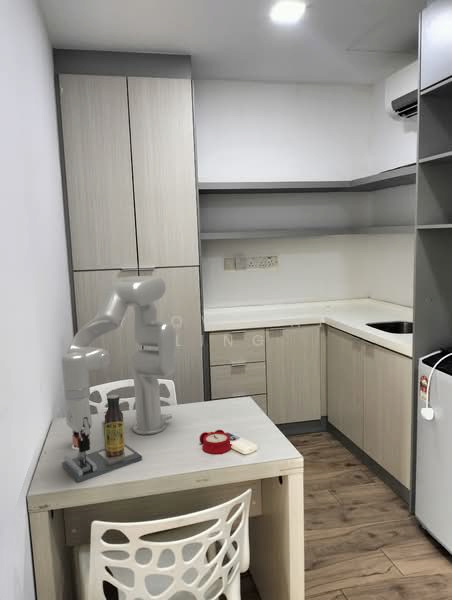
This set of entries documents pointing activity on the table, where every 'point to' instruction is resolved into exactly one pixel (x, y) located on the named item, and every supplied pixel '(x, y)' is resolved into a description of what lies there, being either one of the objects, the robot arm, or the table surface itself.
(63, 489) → the table surface
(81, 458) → the press lever
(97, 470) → the base
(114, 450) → the sauce bottle
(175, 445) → the table surface
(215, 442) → the alarm clock
